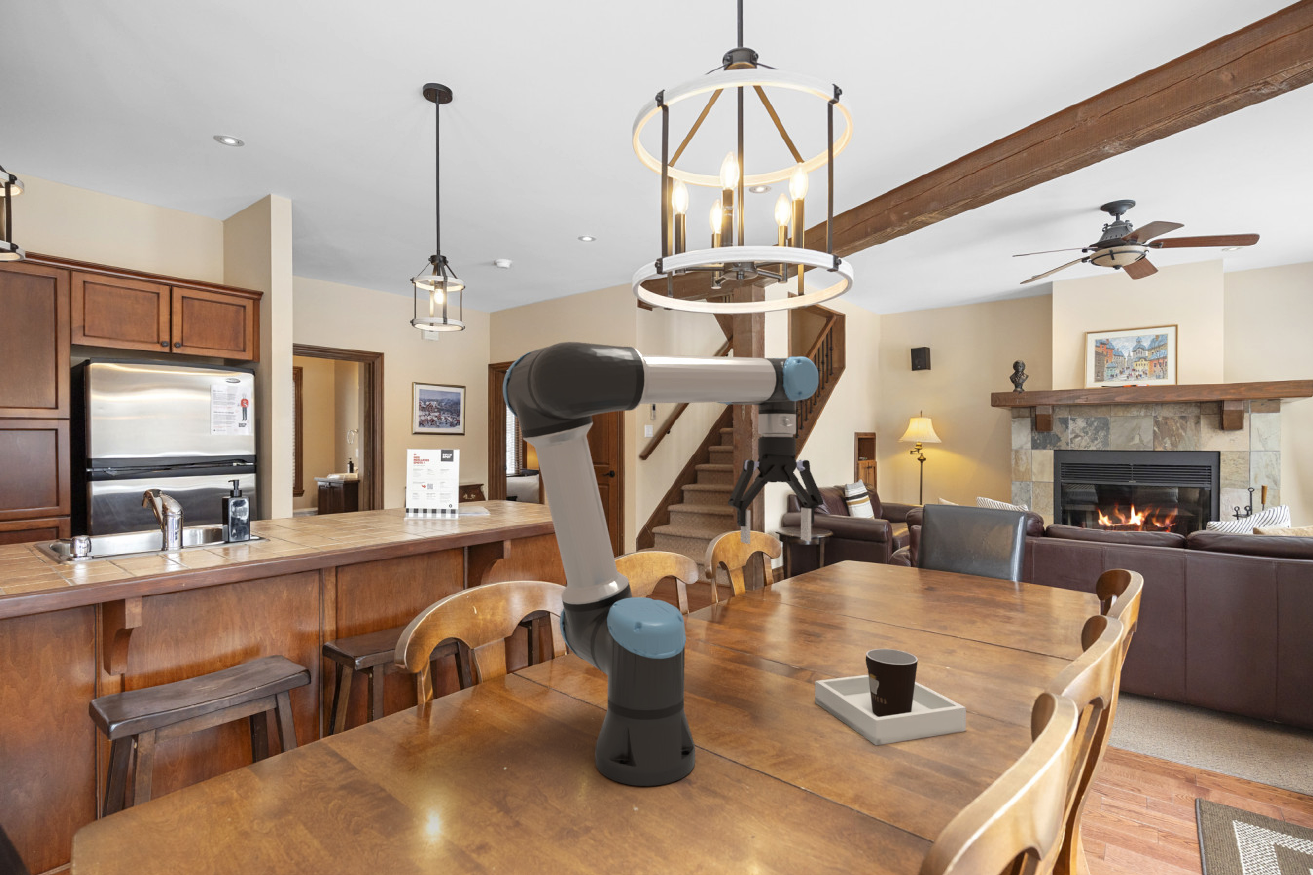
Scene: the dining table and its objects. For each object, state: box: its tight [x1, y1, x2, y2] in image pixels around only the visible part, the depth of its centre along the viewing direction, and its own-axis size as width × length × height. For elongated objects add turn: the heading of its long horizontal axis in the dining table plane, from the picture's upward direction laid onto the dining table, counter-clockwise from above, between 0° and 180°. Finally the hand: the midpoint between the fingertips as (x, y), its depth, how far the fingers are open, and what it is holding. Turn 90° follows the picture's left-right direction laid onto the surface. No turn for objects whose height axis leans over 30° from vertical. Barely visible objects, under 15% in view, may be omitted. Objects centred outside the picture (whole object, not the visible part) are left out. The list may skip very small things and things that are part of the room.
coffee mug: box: [865, 648, 919, 717], centre depth 115 cm, size 12×9×10 cm
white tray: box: [814, 674, 967, 746], centre depth 115 cm, size 18×18×4 cm
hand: (776, 541), depth 130 cm, fingers open, 13 cm apart
